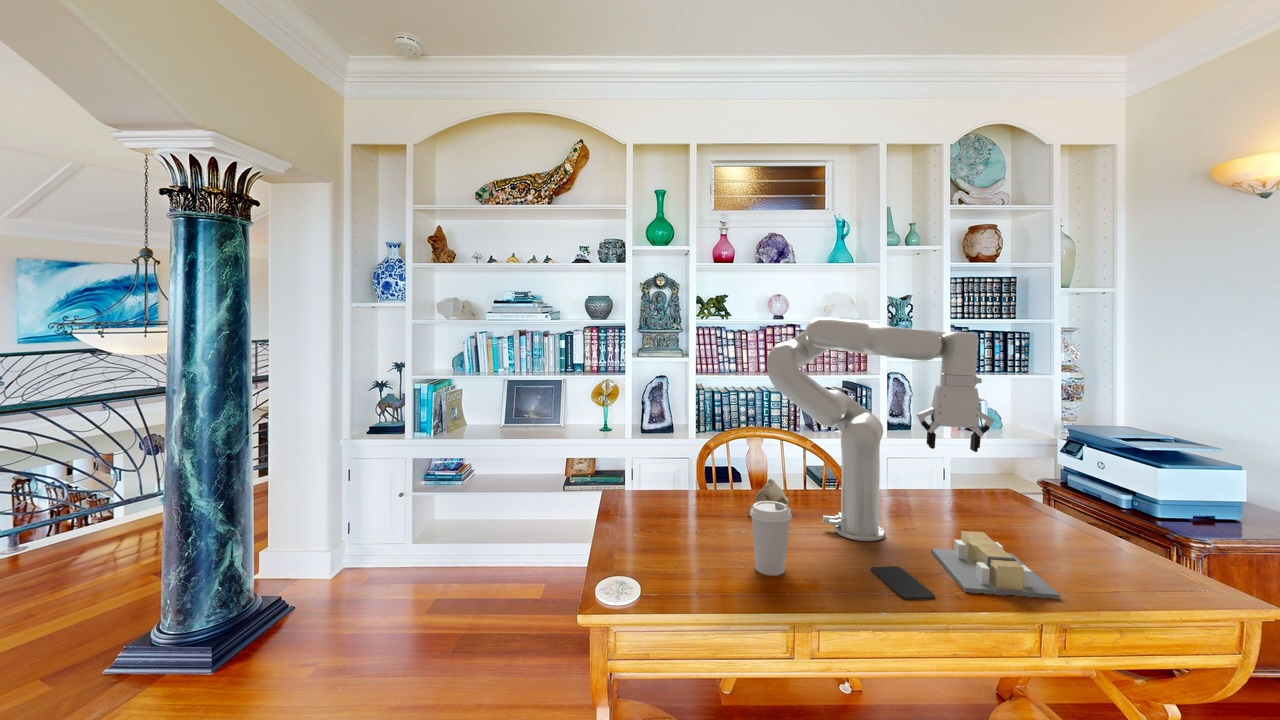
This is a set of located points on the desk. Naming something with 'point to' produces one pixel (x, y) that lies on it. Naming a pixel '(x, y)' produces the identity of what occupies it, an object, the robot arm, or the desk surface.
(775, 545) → the coffee cup
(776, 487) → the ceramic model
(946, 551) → the peg plate
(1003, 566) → the tan long bar
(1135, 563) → the desk surface
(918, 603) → the desk surface
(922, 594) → the phone
